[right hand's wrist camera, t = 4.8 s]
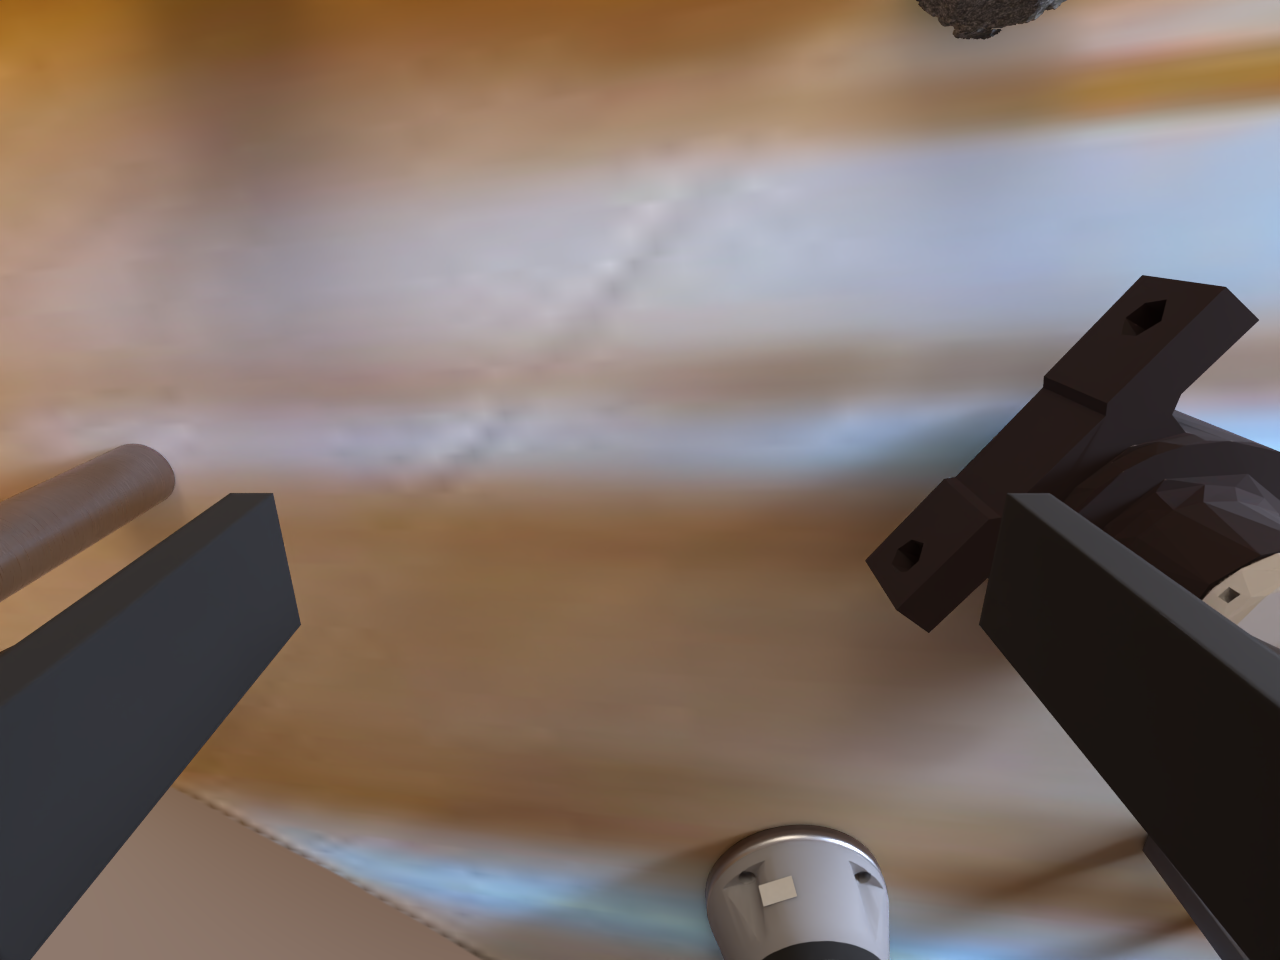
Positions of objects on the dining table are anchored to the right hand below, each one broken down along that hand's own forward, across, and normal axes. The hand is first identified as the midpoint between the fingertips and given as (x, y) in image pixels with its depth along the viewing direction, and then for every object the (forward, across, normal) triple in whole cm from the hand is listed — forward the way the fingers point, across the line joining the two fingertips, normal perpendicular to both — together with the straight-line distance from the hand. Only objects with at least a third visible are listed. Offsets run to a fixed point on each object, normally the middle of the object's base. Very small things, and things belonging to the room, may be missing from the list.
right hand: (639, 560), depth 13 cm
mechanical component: (+32, -33, +15) cm, 48 cm away
